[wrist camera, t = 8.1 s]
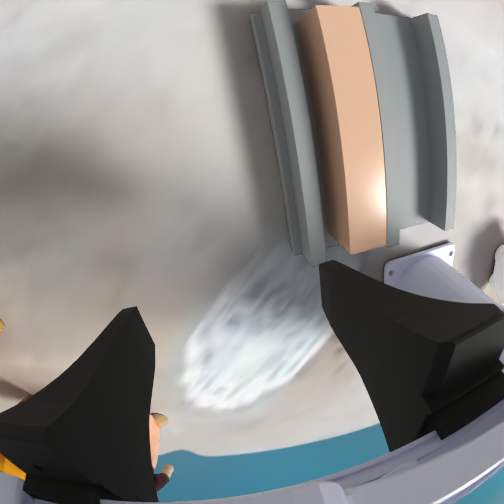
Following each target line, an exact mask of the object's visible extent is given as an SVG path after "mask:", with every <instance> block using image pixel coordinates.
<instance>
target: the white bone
mask: <svg viewBox="0 0 504 504" xmlns="http://www.w3.org/2000/svg"><path fill="white" fill-rule="evenodd" d="M489 284H490V286H491V288H492V289H493V290H494V291H495V292H496V294H497V296H498V298H499V300H500V302H501V303H502V304H501V306H502V307H503V306H504V244H503V245H501V246H499V247H498V249H497V250H496V253H495V267H494V272H493V274H492V275H491V276H490V278H489Z"/></svg>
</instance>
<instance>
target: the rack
mask: <svg viewBox="0 0 504 504" xmlns="http://www.w3.org/2000/svg"><path fill="white" fill-rule="evenodd" d="M351 7H359V9H360V13H361V17H362V21H363V25H364V29H365V33H366V38H367V42H368V47H369V52H370V57H371V62H372V68H373V73H374V79H375V85H376V92H377V99H378V106H379V114H380V122H381V131H382V141H383V153H384V167H385V185H386V247H390V246H394V245H398V244H399V230H400V229H403V228H407V227H411V226H415V225H419V224H423V223H427V222H431V223H432V224H434V225H436V226H438V227H439V228H441V229H442V230H444V231H447V230H450V229H454V219H455V204H456V172H457V162H456V131H455V116H454V105H453V96H452V88H451V80H450V73H449V67H448V61H447V56H446V50H445V45H444V41H443V36H442V32H441V28H440V23H439V20H438V16H437V15H433V14H429V13H426V14H423V15H420V16H416V17H413V18H406V17H400V16H393V15H386V14H378V13H375V10H374V6H373V4H372V3H364V2H358V3H356V4H355V5H353V6H351ZM308 11H309V10H288V9H287V5H286V1H285V0H273V1H267V2H266V4H265V5H264V7H263V9H262V10H261V12H256V13H252V14H251V16H250V21H251V26H252V30H253V35H254V40H255V44H256V49H257V54H258V58H259V63H260V68H261V73H262V78H263V83H264V88H265V93H266V98H267V104H268V109H269V114H270V120H271V125H272V131H273V136H274V142H275V148H276V154H277V159H278V165H279V171H280V177H281V183H282V190H283V196H284V202H285V209H286V215H287V222H288V229H289V236H290V243H291V249H292V251H293V252H294V254H295V255H299V254H303V255H304V257H305V258H306V260H307V261H308V263H309V264H310V266H311V267H315V266H319V264H320V263H324V262H326V250H325V248H328V247H332V246H336V245H340V244H339V243H338V242H337V241H336V240H335V239H334V238H333V237H332V236H331V235H330V234H329V233H328V222H327V211H326V201H325V192H324V183H323V175H322V167H321V159H320V151H319V144H318V137H317V130H316V124H315V118H314V111H313V105H312V100H311V94H310V88H309V83H308V77H307V72H306V67H305V62H304V57H303V52H302V47H301V43H300V38H299V34H298V29H297V25H296V22H297V21H298V20H299V19H301V18H302V17H303V16H304V15H305V14H306V13H307V12H308Z"/></svg>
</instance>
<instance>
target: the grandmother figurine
mask: <svg viewBox="0 0 504 504" xmlns="http://www.w3.org/2000/svg"><path fill="white" fill-rule="evenodd" d="M167 422H168V419H167V417H165V416H163V415H160V414H153V415H151V414H150V417H149V430H150V448H151V460H152V468H153V472H154V469H155V467H156V464H157V458H158V448H159V441H160V427H162V426H164V425H166V424H167ZM173 470H174V468H173V466H171V465H169V464H167V465H165V466H164V467H163V470H162V471H161V473H160V474H153V475H154V482H155V487H156V492H157V491H158V490H160V489H161V488H163V486H165V484H167V482H168V481H169V478H170V476H171V473H172V472H173Z"/></svg>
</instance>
